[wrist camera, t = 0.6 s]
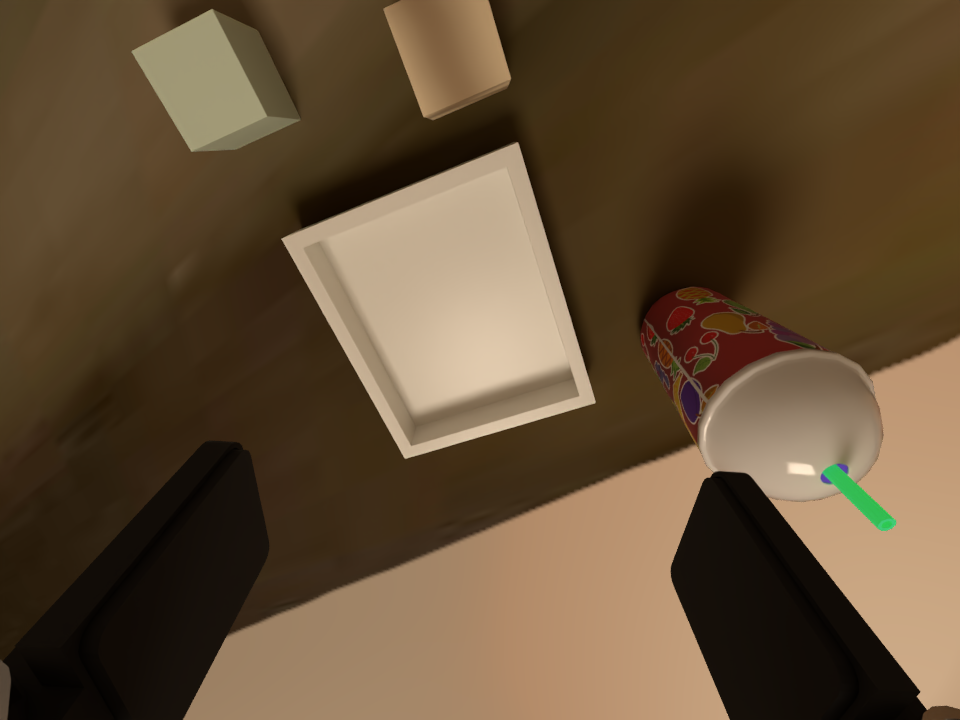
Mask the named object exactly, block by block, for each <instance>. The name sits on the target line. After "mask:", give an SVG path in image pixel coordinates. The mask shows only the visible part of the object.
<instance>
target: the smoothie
mask: <svg viewBox="0 0 960 720" xmlns="http://www.w3.org/2000/svg"><path fill="white" fill-rule="evenodd" d="M640 337H641V346H642V348H643V351H644V353H645V355H646V357H647V358H648V360H649V362H650V364H651V365H652V367H653V369H654V371H655V372H656V374H657V376H658V378H659V379H660V381H661V383H662V385H663V387H664V388H665V390H666V392H667V394H668V395H669V397H670V399H671V401H672V403H673V404H674V406H675V408H676V410H677V411H678V413H679V415H680V417H681V418H682V420H683V422H684V424H685V426H686V427H687V429H688V431H689V433H690V434H691V436H692V438H693V440H694V441H695V443H696V445H697V447H698V449H699V450H700V452H701V454H702V457H703V459H704V462H705V464H706V466H707V467H708V468H709V469H710V470H711V471H712V472H713V473H714V472H716V471H726V472H743V473H747V474H749V475H750V476H751V477H752V478H753V479H754V481H755V482H756V483H757V484H758V486H759V487H760V488H761V490H762V491H763V492H764V493H765V495H766V496H767V497H768V498H772V499H776V500H786V501H796V502H806V501H815V500H821V499H825V498H828V497H831V496H834V495H837V494H840V493H843V494H844V495H845V496H846V497H847V498H848V499H849V500H850V501H851V502H852V503H853V504H854V505H855V506H856V507H857V508H858V509H859V510H860V511H861V512H862V513H863V514H864V515H865V516H866V517H867V518H868V519H869V520H870V521H871V522H872V523H873V524H874V525H875V526H876V527H877V528H878V529H879V530H881V531H887V530H889V529H892V528H893V527H894V526H895V525H896V520H895V519H894V518H892V517H891V516H890V515H889V514H888V513H887V512H886V511H885V510H884V509H883V508H882V507H881V506H880V505H879V504H878V503H877V502H875V501H874V500H873V499H872V498H871V497H870V496H869V495H868V494H867V493H866V492H865V491H864V490H863V489H862V488H861V487H859V486H858V485H857V482H859V481H860V480H861V479H862V478H863V477H864V476H866V474H867V473H868V472H869V471H870V469H871V468H872V466H873V465H874V464H875V462H876V461H877V459H878V455H879V451H880V448H881V444H882V440H883V426H882V420H881V413H880V408H879V406H878V403H877V401H876V398H875V392H874V386H873V382H872V380H871V379H870V378H869V376H868V375H867V374H866V372H865V371H864V370H863V369H862V367H861V366H860V365H859V364H857V363H855V362H853V361H852V360H850V359H848V358H846V357H844V356H842V355H840V354H838V353H836V352H833V351H830V350H828V349H826V348H824V347H822V346H820V345H818V344H816V343H814V342H812V341H811V340H809V339H807V338H805V337H803V336H801V335H799V334H797V333H795V332H793V331H791V330H789V329H787V328H785V327H783V326H781V325H780V324H778V323H776V322H774V321H772V320H770V319H768V318H766V317H764V316H762V315H760V314H758V313H756V312H754V311H752V310H751V309H749V308H747V307H745V306H743V305H741V304H739V303H737V302H735V301H733V300H731V299H729V298H727V297H725V296H723V295H722V294H720V293H718V292H716V291H713V290H711V289H709V288H703V287H688V288H684V289H679V290H676V291H673V292H671V293H669V294H667V295H665V296H663V297H661V298H660V299H659V300H658V301H656V302H655V303H654V304H653V305H652V306H651V308H650V309H649V311H648V313H647V314H646V316H645V319H644V321H643V325H642V328H641V332H640Z"/></svg>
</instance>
